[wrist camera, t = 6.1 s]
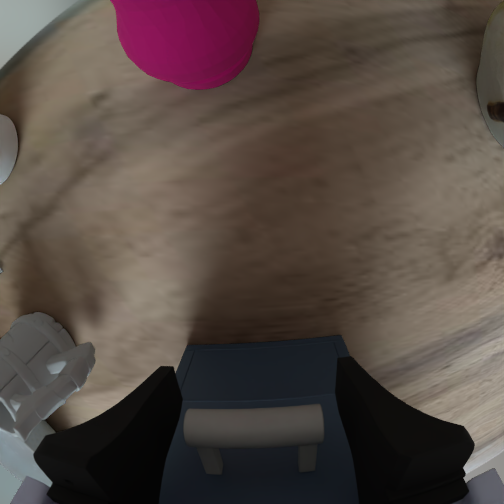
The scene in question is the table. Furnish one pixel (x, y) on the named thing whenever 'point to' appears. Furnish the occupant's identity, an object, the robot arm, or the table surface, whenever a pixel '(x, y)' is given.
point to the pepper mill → (188, 38)
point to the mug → (38, 371)
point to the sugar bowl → (493, 74)
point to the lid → (260, 454)
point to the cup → (7, 147)
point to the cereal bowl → (24, 453)
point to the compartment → (260, 370)
